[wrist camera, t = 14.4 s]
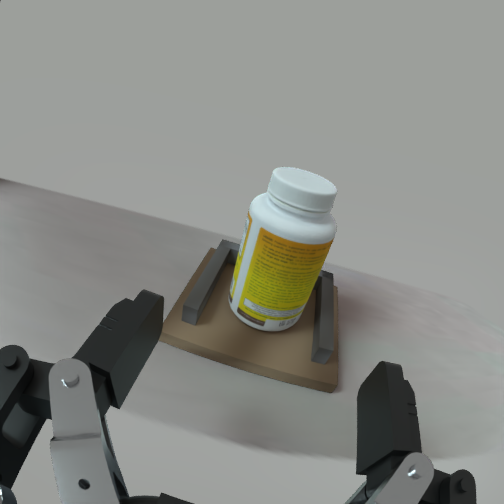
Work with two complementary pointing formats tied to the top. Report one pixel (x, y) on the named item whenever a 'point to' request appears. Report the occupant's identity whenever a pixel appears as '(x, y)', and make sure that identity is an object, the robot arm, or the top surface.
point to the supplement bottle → (283, 249)
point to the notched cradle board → (251, 339)
